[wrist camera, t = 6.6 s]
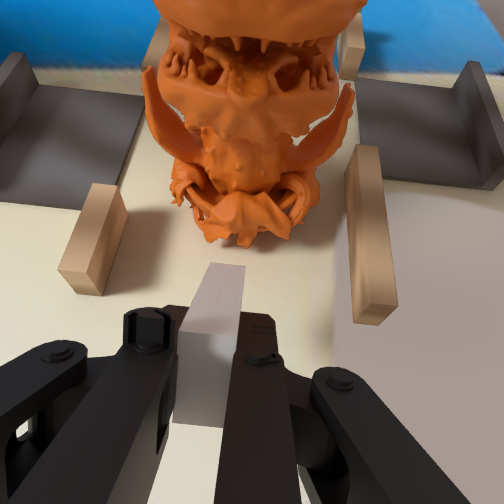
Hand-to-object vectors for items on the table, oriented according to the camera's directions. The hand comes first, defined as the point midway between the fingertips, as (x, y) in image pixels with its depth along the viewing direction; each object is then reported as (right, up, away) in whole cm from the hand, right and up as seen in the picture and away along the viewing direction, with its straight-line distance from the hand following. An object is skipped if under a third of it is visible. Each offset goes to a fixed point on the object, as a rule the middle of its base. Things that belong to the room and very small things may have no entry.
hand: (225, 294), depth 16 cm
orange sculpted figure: (0, +5, +10) cm, 12 cm away
